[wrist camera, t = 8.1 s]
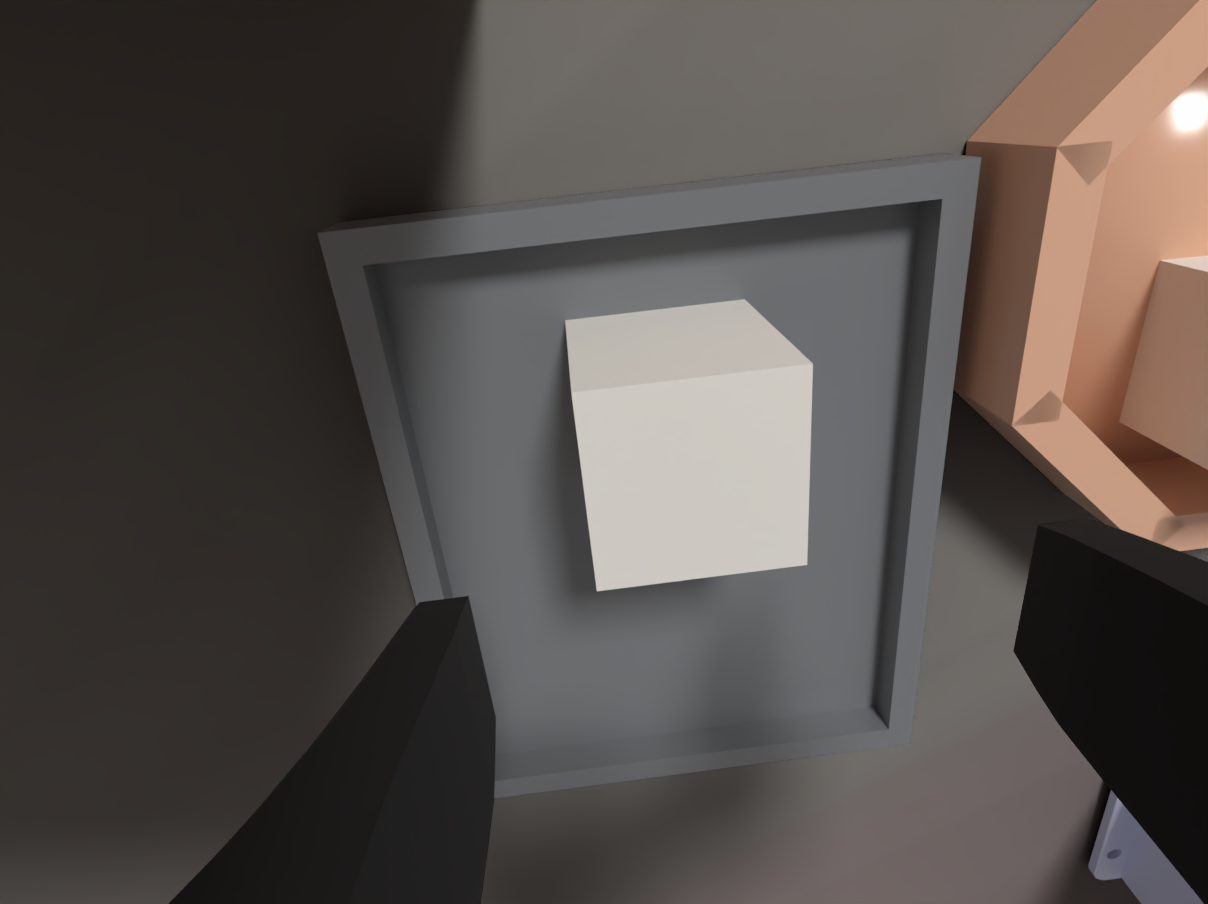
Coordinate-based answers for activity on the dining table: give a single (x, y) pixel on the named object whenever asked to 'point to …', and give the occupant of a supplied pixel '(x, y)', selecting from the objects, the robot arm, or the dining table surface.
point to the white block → (1173, 362)
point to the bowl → (1090, 256)
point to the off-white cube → (691, 443)
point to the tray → (553, 471)
